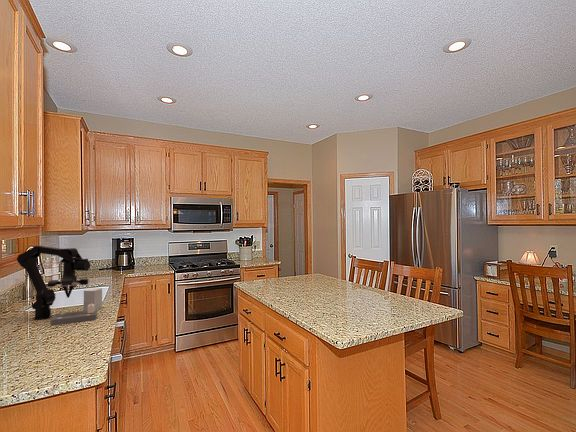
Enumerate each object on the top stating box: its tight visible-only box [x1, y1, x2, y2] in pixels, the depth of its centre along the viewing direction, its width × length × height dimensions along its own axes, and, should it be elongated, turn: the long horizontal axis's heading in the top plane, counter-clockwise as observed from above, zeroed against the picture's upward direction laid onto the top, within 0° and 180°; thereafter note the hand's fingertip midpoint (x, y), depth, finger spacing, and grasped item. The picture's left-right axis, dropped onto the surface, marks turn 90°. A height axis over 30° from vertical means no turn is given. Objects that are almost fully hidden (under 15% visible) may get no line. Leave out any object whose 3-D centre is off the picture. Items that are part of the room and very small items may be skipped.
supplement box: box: [83, 287, 103, 311], centre depth 194 cm, size 7×7×13 cm
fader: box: [88, 303, 95, 313], centre depth 177 cm, size 3×5×4 cm, turn 28°
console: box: [50, 310, 98, 326], centre depth 173 cm, size 20×12×3 cm, turn 118°
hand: (68, 297), depth 177 cm, fingers closed
